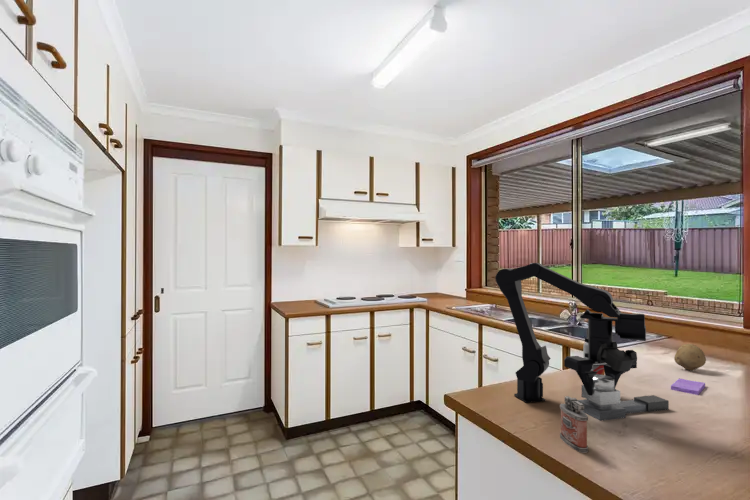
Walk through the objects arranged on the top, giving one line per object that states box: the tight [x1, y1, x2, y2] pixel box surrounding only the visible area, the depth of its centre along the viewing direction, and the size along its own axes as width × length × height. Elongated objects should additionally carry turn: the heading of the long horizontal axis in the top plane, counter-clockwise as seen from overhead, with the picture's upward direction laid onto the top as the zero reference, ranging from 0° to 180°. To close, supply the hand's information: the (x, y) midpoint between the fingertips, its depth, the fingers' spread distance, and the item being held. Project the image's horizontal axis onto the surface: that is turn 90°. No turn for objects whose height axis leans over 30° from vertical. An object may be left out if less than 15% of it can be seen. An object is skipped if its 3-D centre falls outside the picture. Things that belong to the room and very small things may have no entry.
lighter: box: [559, 395, 589, 454], centre depth 87 cm, size 8×3×10 cm, turn 5°
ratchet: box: [577, 394, 670, 422], centre depth 107 cm, size 24×8×5 cm, turn 104°
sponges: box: [670, 378, 706, 396], centre depth 126 cm, size 7×13×2 cm, turn 132°
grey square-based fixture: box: [581, 374, 621, 405], centre depth 105 cm, size 6×6×6 cm
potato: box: [673, 343, 707, 372], centre depth 146 cm, size 9×9×10 cm
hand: (600, 394), depth 105 cm, fingers closed on grey square-based fixture, 6 cm apart
